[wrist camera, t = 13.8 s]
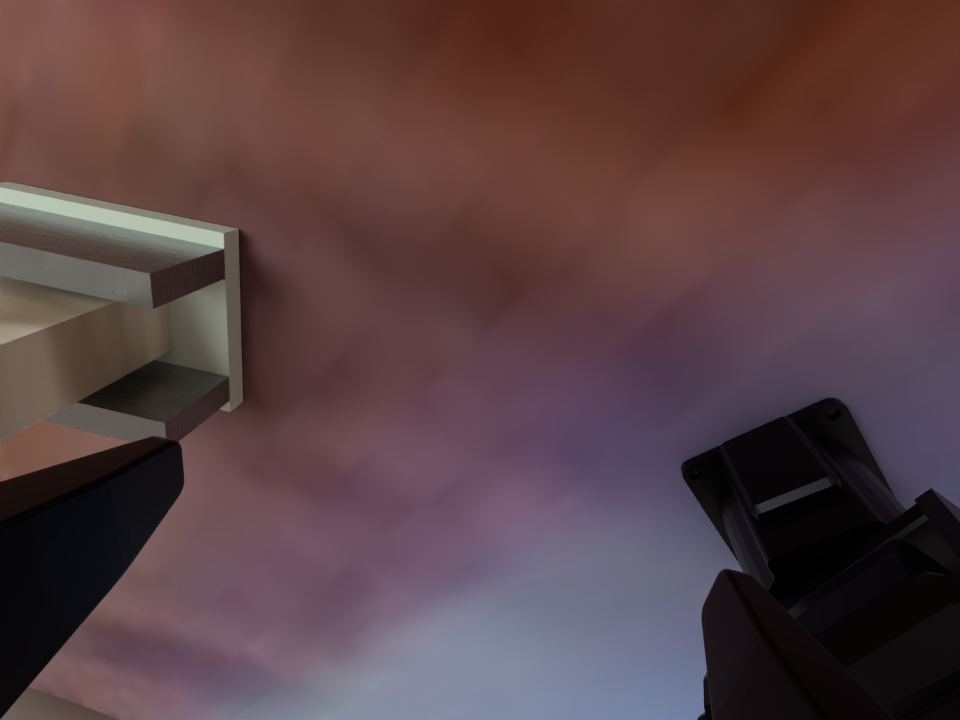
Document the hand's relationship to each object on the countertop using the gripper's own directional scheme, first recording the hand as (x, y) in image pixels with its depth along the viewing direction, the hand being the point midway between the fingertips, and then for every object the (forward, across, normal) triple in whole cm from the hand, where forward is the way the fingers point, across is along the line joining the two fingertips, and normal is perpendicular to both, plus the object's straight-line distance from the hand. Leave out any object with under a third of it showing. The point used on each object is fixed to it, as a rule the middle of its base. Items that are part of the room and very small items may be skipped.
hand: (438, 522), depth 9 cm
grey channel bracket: (+13, +16, +4) cm, 21 cm away
